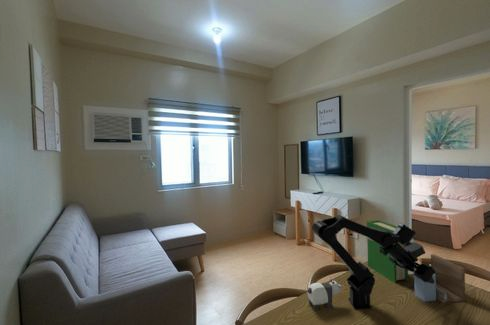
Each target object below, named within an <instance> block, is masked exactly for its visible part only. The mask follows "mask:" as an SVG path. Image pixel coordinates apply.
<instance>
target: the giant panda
mask: <svg viewBox="0 0 490 325" xmlns="http://www.w3.org/2000/svg"><path fill="white" fill-rule="evenodd" d="M342 288H343V286H342V284H339V283H338V282H337V281H335V280H333V279H332V278H331V279H330V282H314V283H311V284H309V286H308V287H307V299H308V303H309V305H310V306H312V310H313V311H319V310H320V307H319V305H323V304H325V305H326V308H328V309H331V308H332V309H333V308H334V306H333V296H334V295H336V294H338V293H339V292H340V291H341V289H342Z"/></svg>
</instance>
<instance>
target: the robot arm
mask: <svg viewBox="0 0 490 325" xmlns="http://www.w3.org/2000/svg"><path fill="white" fill-rule="evenodd" d="M342 229H346V230H349V231H352V232H354V233H356V234H359V235H362V236H365V237H366V238H367V237H368V238H369V239H371V240H373V241H374V242H376V243H378V244H380V245H381V247H380V250H379V252H380V253H382V254H383V255H385V256H386V255H387V254H389V255H390V256H389V260H390V261H391V262H393V263H394V264H396V265H397V266H399V267H401V268H404V269H406V270H409V271H411V272H414V270H415V272H414V274H413V276H414V275H415V276H416V277H417V278H418V279H420V280H422V281H423V282H428V283H432V284H433V283H434V279H433V277H432V275H433V274H434V273H435V272H436V271H435V269H434V268H433V267H432V266H431V264H428V263H426V262H421V263H418V261H419V257H421V256H422V255H425V254H426V251H425V249H424V247H423V244H420V243H418V242H415V241H414V242H410V241H411V240H412V239H413V240H414V237H415V236H416V235H417V232H416V231H415V230H414V229H412V228H410V227H409V226H407V225H405V224H404V223H402V222H400V223H399V224H398V227H397V228H396V230H395V231H394V232H393V233H391V232H389V231H383V230H381V229H379V228H374V227H367V225H364V224H361V223H360V222H356V221H354V220H352V219H349V218H347V217H345V216H343V215H339V214H338V215H335V216H334V217H329V218H325V219H323V220H316V221H315V222H313V224H312V227H311V230H312V232H313V234H314V235H316V236H317V237H319V239H321V240H322V241H324V243H326V244H327V245H328V246H329V247H330V248H331V250H333V252H334V253H335V254H336V256H337V257H338V258H339V259H340V260H341V261H342V262H343V263H344V265H346V267H347V268H348V271H349V273H350V275H349V276H348V278H346V282H347V285H349V298H348V301H349V302H350V305H352V307H353V310H370V309H372V306H371V295H372V292H373V289H374V285H375V282H376V279H375V277H374V276H375V274H373V273H372V272H371V270H370V269H369V267H368V266H366V265H365V264H363V263H362V262H361V261H358V262H357V260H355V259H354V257H353V256H352V255H351V254H350V253H349V252H348V251H347V250H346V248H345V247H344V246H343V245H342V244H341V242H340V241H338V238H337V235H338V233H339V232H341V231H342ZM397 242H399V243H400V244H402V245H404V248H403V247H402V246H401V245H400V244H399V243H397Z"/></svg>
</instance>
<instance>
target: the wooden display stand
mask: <svg viewBox="0 0 490 325" xmlns="http://www.w3.org/2000/svg"><path fill="white" fill-rule="evenodd" d="M430 266H432V267H433V268H434V269H435V271H436V272H435V273H434V274H435V275H436V300H437V301H440V302H441V303H442V304H444V303H445V304H446V303H452V302H453V303H454V302H465V301H466V272H465V270H466V269H465V267H462V266H460V265H458V264H456V263H454V262H451V261H450V260H447V259H445V258H443V257H440V256H439V255H437V254H430Z"/></svg>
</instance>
